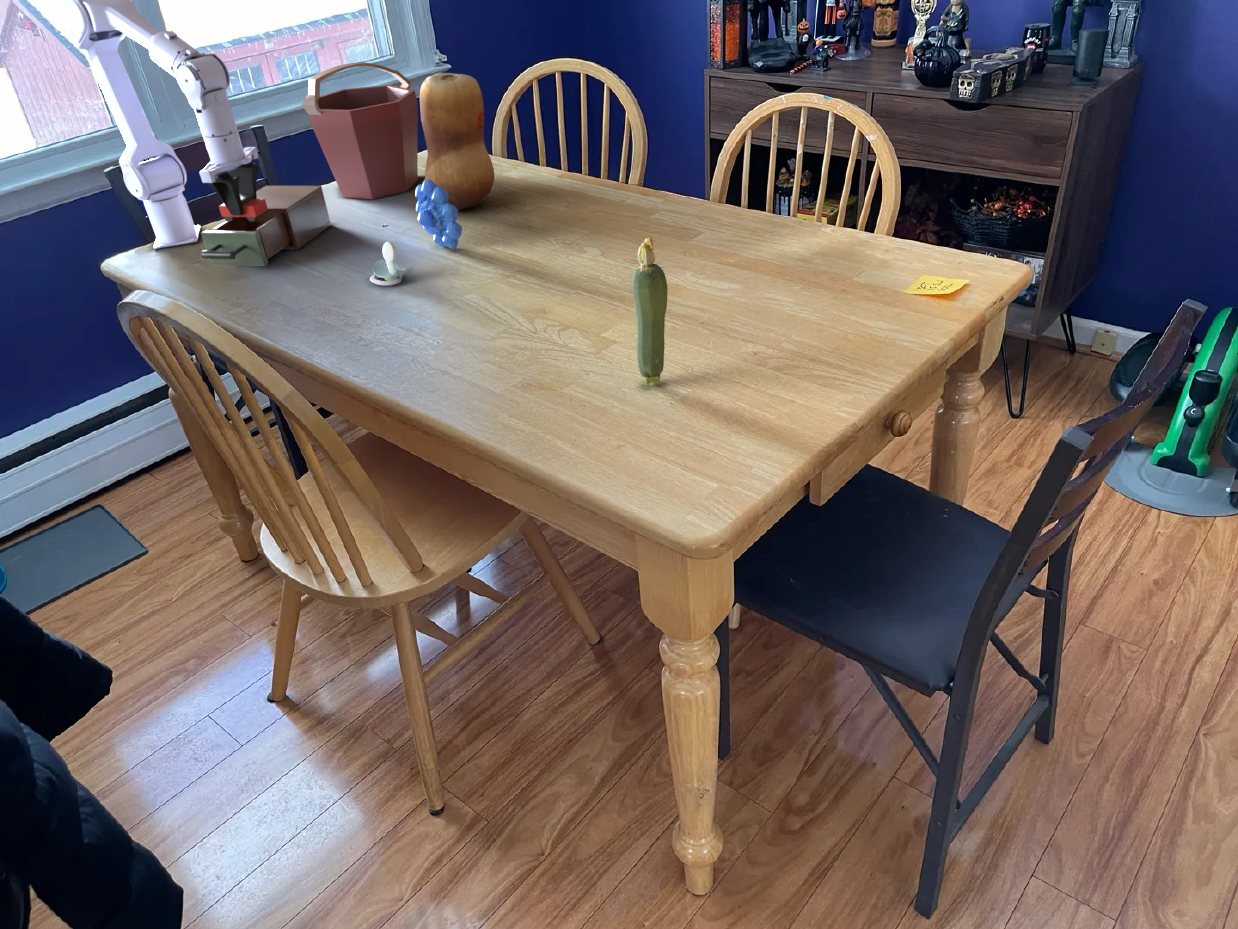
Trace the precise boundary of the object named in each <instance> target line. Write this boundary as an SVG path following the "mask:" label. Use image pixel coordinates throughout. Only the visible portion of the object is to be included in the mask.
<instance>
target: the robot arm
mask: <svg viewBox="0 0 1238 929" xmlns="http://www.w3.org/2000/svg"><path fill="white" fill-rule="evenodd" d="M61 15H62V18H63V20H64V22H65V24H66V26H67V29H68V31H69V33H70V36H71V37H72V39H73V41H74V44H75V45H76V47H77V49H80V50H83V52H84V54H85V56H86V59H87V60H88V62H89V66H90V67H91V69H92V72H93V74H94V76H95V78H96V81H97V82H98V84H99V87H100V89H101V90H102V93H103V95H104V98H105V101H106V102H107V104H108V107H109V110H110V111H111V113H112V115H113V118H114V120H115V122H116V125H117V127H118V128H119V131H120V133H121V135H122V137H123V140H124V142H125V144H126V148H125V150H124V151H123V153H122V155H121V156H120V158H119V161H118V164H119V166H120V169H121V171H122V177H123V182H124V185H125V187H126V188H127V191H128V192H129V193H130V194H131V195H132V196H134V197H135V198H136V199H137V200H139V201H142V202H143V206H144V209H145V211H146V214H147V216H148V219H149V222H150V225H151V227H152V230H153V232H154V235H155V241H154V244H153V249H155V250H157V249H163V248H168V247H169V248H170V247H175V246H181V245H186V244H193V243H197V242H198V241H199V240H198V239H199V235H200V233H201V232H200V231H201V228H202V227H201V225H200V224H197V225H195V223H194V220H193V217H192V213H191V211H190V210H191V209H190V208H189V205H188V202H187V199H186V197H185V196H184V194H183V192H184V191H185V190H186V188H185V185H186V183H187V180H188V179H187V178H188V175H187V170H186V168H185V166H184V164H183V162H182V161H181V160H180V159H179V157H178V156H177V154H176V152H175V150H174V148H173V146H171V145H170V144H167V143H164V142H163V141H161V140H159V139H157V138H156V136H155V134H154V131H153V129H152V127H151V125H150V122H149V119H148V117H147V115H146V113H145V111H144V108H143V106H142V104H141V101H140V99H139V97H138V94H137V92H136V89H135V88H134V86H133V83H132V81H131V78H130V76H129V74H128V72H127V70H126V66H125V65H124V62H123V60H122V58H121V55H120V54H119V46H120V42H122V41H123V40H124V39H125V38H126V36H127V37H128V38H130V39H132V40H133V41H135V42H137V43H138V44H140V45H141V46H143V47H144V48H146V49H147V50H148V54H149V57H150V59H151V60H152V61H153V62H154V63H156V64H157V65H158V66H159V67H161V68H162V69H163V70H165V71H166V72H168V74H170V75H171V76H173V77H174V78H175V79H176V82H177V84H178V86H179V88H180V89H181V91H182V92H183V94H184V95H185V97H186V98H187V101H188V102H187V103H188V104H189V105H190V107H191V109H194V113H195V115H196V118H197V123H198V125H199V127H200V128H199V129H200V132H201V134H202V137H203V140H204V141H203V142H204V143H205V148H206V150H207V153H208V156H209V160H210V161H209V162H208V163H207V164H206V166H205V167H204V168H203V169H201V170H200V171H199V172H198V174H199V176H200V180H201V182H202V184H207V185H208V186H209V187H210V188H211V189H212V190H213V191H214V192H215V193H216V194H217V195H218V197H219V198H220V200H221V201H222V202H223V203H224V204H225V206H226V207H227V209H228V210H229V212H230V214H231V215H232V216H241V215H243V208H242V203H241V198H240V195H252V198H253V199H257V195H256V192H257V181H258V175H259V172H260V166H259V163H258V162H253V161H252V160H257V159H259V153H258V150H257V147H256V146H246V147H243V144H242V141H241V137H240V133H239V131H238V127H237V123H236V120H235V117H234V113H233V109H232V106H231V103H230V101H229V100H230V99H229V97H228V96H229V95H228V93H227V90H228V89H229V87H230V84H231V76H230V72H229V70H228V67H227V66H226V64H225V63H224V61H223V60H222V59H221V58H220V57H219V56H218V55H217V54H216V53H212V52H211V53H206V52H202V53H201V52H199V51H198V50H197V49H195V48H194V47H193V46H192V45H190V44H189V43H187V41H185V40H183V39H182V38H181V37H179V36H178V34H177V33H175V31H173V30H163V31H160V30H159V29H158V28H157V27H156V26H154V25H153V24H152V23H151V22H150V21H149V20H148V19H147V18H145V17H144V16H143V15H142V14H141V13H140V12H139V11H138V10H136V6H135V4H134V2H133V0H62V8H61ZM154 157H155V158H154ZM148 159H149V160H148ZM144 160H146V161H144Z"/></svg>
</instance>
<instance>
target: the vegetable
mask: <svg viewBox="0 0 1238 929" xmlns="http://www.w3.org/2000/svg"><path fill="white" fill-rule="evenodd" d="M653 243H654V241H653V238H652V237H649V236H648V237H646V238H645V239H644V240H643V243H641V245H640V246H639V248H638V250H637V254H636V255H637V256H636V257H637V261H638V263H639V264H640V265H639V266H638V267H637V268H635V270H634V273H633V276H632V279H631V286H632V288H631V289H632V298H633V302H634V310H635V319H636V320H635V321H636V359H637V367H638V372H639V373H640V375H641V376H642V378H643V381H644V383H645V385H646V386H647V387H648V386H649V385H651V384H656V383H658V382H661V374H662V373H663V371H664V366H665V342H666V341H665V325H666V324H665V322H666V313H667V308H668V294H669V293H668V291H669V290H668V282H667V277H666V274H665V272H664V270H663V268H662V267H661V266H659V264H657V263H655V262H656V255H655V252H654V251H655V249H654V244H653Z"/></svg>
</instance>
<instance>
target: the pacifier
mask: <svg viewBox="0 0 1238 929" xmlns="http://www.w3.org/2000/svg"><path fill="white" fill-rule="evenodd" d="M381 251H382V257H383V259H380V260H377V261H375V262H374V263H373V265H372V271H373V273H374V274H372V275H371V276H369V281H370V283H372V284H375V285H378V286H384V287H385V286H393V285H397V284H399V283H400V282H401V281H402V280H403V275H404V274H406V273H408V272H409V271H411V269H412V268H411V266H408V267H406V268H401V269H400V267H399V266H398V265H397V262H396V258H397V253H398V251H397V247H396V246H395V244H394V243H392V242H391V241H386V242H384V243H383V245H382V250H381ZM377 278H382V279H384V280H379V279H377Z"/></svg>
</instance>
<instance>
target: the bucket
mask: <svg viewBox="0 0 1238 929" xmlns="http://www.w3.org/2000/svg"><path fill="white" fill-rule="evenodd" d="M359 67H360V68H361V67H370V68H374V69H377V70H380V71H382V72H384V73H385V72H386V73H389V74H390V75H392V76H393V77H394V78H395V79H397V80H398V81H399V82H400V83H401V85H400V86H398V85H393V84H384V85H372V86H362V87H361V86H360V87H349V88H341V89H339V90H335V91H332V92H329V93H325V94H321V82H322V81H324V80H326V79H328V78H329V77H331V76H333V75H335V74H337V73H340V72H342V71H345V70H348V69H352V68H359ZM411 86H412V85H411V81H410V80H409V79H408V78H407V77H406V76H405V75H404V74H402V73H401V71H398V70H396V69H392V68H389V67H387V66H384V65H380V64H375V63H369V62H364V61H358V62H357V61H356V62H348V63H344V64H339V65H336V66H333V67H331V68H328V69H325V70H323V71H321V72H318V73H316V74H315V75H313V76H312V77H310V78H308V84H307V87H308V88H307V95H306V96H305V98H304V99H303V101H302V104H301V106H302V108H303V109H304V111H305V112H306V113H307V114H308V117H309V120H310V124H311V128H312V130H313V132H314V135H315V137H316V139H317V141H318V143H319V145H320V149H321V150H322V153H323V155H324V157H325V159H326V162H327V164H328V166H329V168H330V172H331V173H332V175H333V177H334V180H335V182H336V184H337V186H338V189H339V191H340V193H341V196H342V198H347V199H362V200H375V199H379V198H384V197H388V196H392V195H396V194H402V193H405V192H407V191H408V190H409V189H411V188H412V187H413V186H414V185H415V183H417V181H418V177H419V176H418V170H419V169H418V166H419V165H418V162H419V161H418V159H419V158H418V149H419V148H418V140H419V139H418V136H419V134H418V133H419V132H418V131H419V130H418V126H419V125H418V122H419V121H418V116H419V115H418V114H419V113H418V112H419V111H418V110H419V109H418V108H419V107H418V105H419V104H418V98H417V95H416V90H415V89H411Z"/></svg>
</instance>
